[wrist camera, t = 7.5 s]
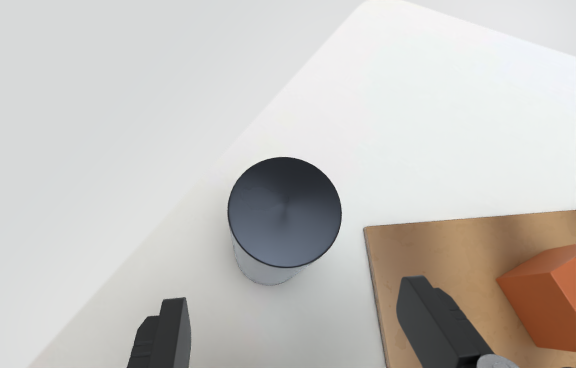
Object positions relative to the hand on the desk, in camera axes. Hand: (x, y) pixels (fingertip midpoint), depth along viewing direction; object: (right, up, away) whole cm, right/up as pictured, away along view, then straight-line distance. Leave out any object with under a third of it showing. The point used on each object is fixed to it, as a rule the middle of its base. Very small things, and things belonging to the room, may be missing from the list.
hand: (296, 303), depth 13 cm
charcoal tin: (-2, 0, +12) cm, 12 cm away
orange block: (+18, -4, +12) cm, 22 cm away
